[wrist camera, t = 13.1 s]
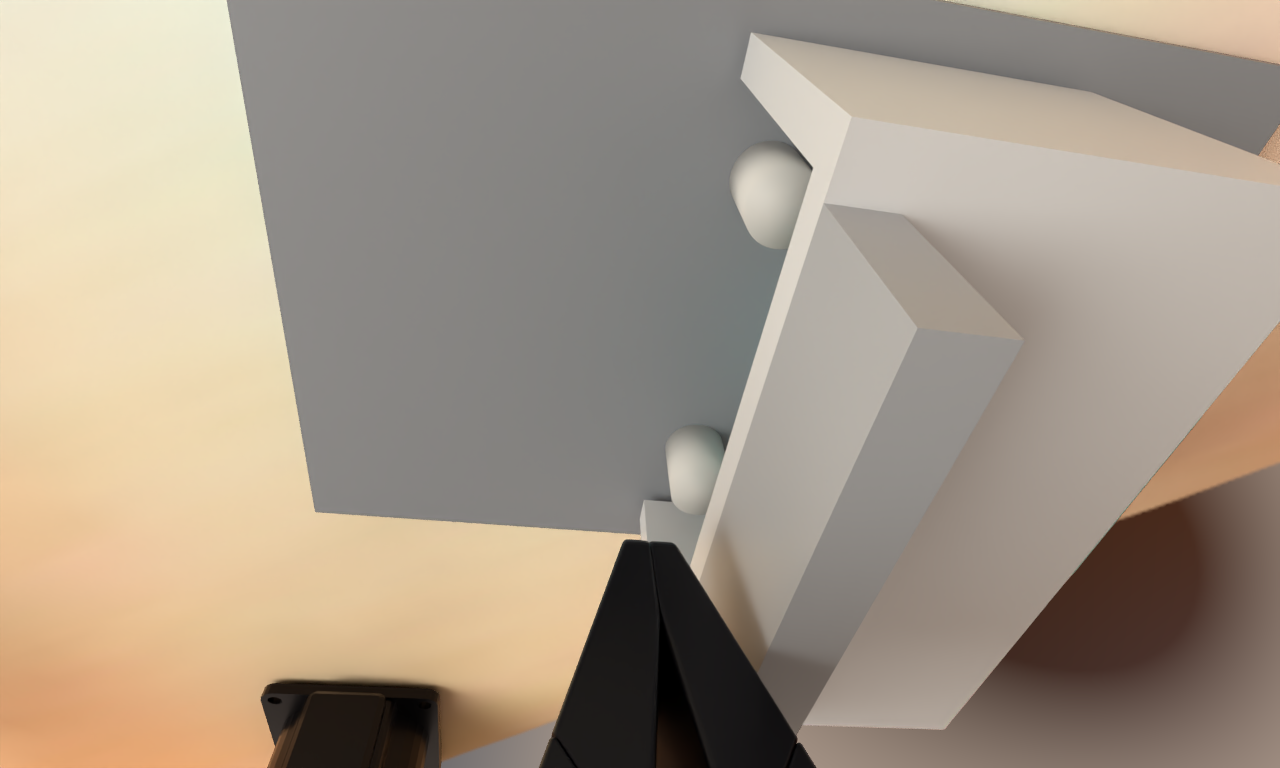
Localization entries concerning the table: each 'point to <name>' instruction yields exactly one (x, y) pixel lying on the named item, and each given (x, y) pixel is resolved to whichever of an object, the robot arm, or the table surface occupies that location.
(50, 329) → the table surface
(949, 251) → the cover
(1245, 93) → the base plate
